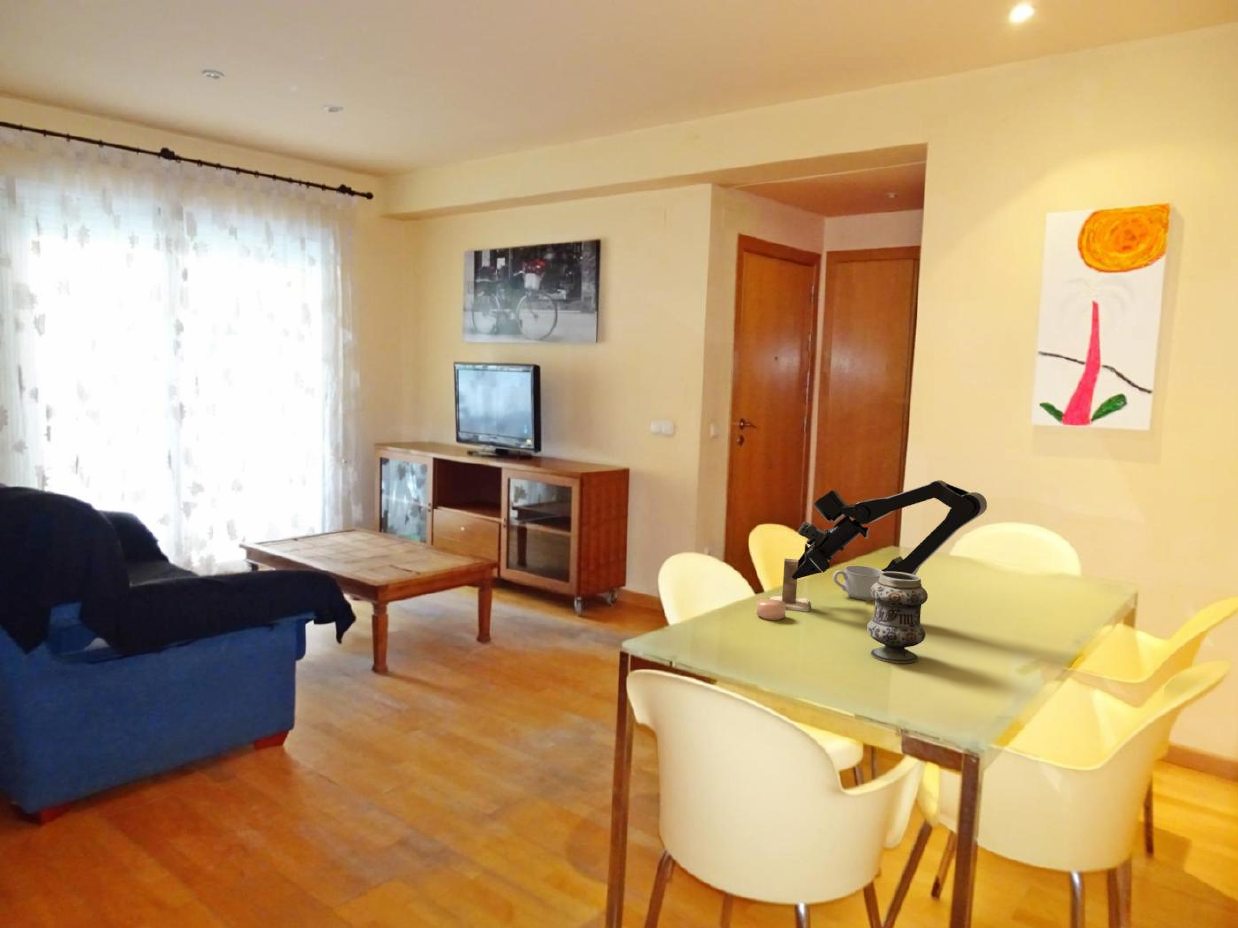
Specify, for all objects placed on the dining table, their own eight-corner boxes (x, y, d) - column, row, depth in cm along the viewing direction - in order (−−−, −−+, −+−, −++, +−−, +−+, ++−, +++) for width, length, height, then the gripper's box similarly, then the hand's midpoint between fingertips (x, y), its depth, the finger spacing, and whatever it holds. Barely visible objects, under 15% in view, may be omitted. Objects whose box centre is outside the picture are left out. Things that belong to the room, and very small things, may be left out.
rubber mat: (809, 602, 233) (809, 601, 233) (810, 613, 222) (810, 612, 222) (767, 599, 235) (767, 597, 235) (766, 609, 224) (766, 608, 224)
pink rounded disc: (789, 622, 213) (790, 606, 213) (762, 622, 212) (763, 606, 211) (779, 614, 220) (779, 598, 220) (752, 614, 219) (753, 599, 218)
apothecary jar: (928, 654, 192) (934, 574, 190) (916, 669, 182) (923, 584, 180) (873, 644, 198) (878, 566, 196) (858, 658, 188) (864, 576, 186)
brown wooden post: (807, 601, 232) (810, 558, 231) (808, 611, 222) (811, 565, 221) (769, 598, 234) (772, 555, 233) (768, 607, 224) (771, 562, 223)
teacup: (878, 594, 245) (880, 566, 244) (886, 604, 234) (888, 575, 234) (828, 591, 246) (830, 563, 246) (833, 601, 236) (835, 571, 235)
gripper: (817, 507, 234) (773, 544, 237) (819, 518, 215) (770, 558, 219) (845, 538, 233) (800, 575, 236) (849, 552, 215) (800, 591, 218)
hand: (792, 574), depth 227 cm, fingers open, 9 cm apart
